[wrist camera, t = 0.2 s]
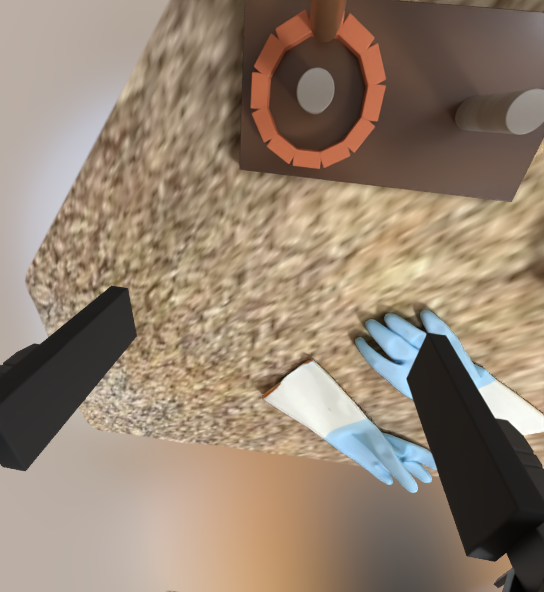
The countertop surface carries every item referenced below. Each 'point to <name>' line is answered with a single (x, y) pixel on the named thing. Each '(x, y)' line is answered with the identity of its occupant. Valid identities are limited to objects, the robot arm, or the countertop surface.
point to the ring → (324, 27)
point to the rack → (407, 96)
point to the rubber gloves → (402, 350)
